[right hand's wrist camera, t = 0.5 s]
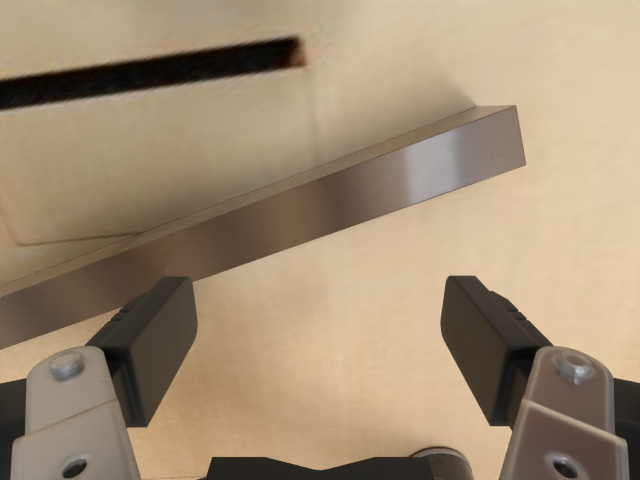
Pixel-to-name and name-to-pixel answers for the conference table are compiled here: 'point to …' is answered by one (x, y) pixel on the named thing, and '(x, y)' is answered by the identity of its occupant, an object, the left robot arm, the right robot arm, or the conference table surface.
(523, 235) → the conference table surface
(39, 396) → the right robot arm
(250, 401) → the conference table surface
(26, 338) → the post
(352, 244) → the conference table surface
